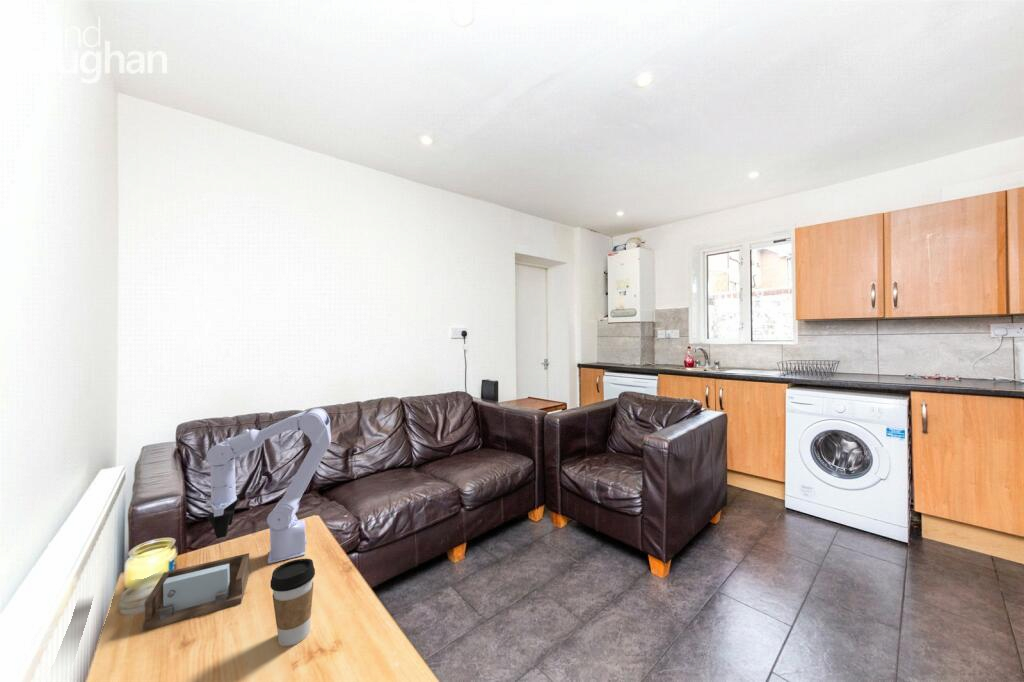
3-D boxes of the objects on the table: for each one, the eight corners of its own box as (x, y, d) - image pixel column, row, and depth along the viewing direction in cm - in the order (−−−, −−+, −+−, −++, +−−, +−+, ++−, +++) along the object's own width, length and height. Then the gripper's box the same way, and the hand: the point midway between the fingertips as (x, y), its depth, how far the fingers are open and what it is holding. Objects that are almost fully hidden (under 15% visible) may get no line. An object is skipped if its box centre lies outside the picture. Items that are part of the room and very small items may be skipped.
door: (229, 591, 95) (229, 563, 95) (227, 598, 92) (226, 570, 92) (167, 607, 89) (166, 578, 89) (162, 616, 87) (161, 585, 87)
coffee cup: (302, 651, 78) (301, 578, 78) (262, 651, 78) (260, 579, 78) (323, 620, 86) (322, 555, 86) (287, 621, 87) (285, 555, 87)
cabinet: (249, 572, 105) (249, 553, 105) (241, 603, 93) (240, 581, 93) (164, 594, 97) (164, 572, 97) (142, 631, 84) (142, 606, 84)
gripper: (212, 478, 114) (212, 523, 114) (199, 496, 101) (200, 546, 101) (240, 474, 118) (241, 518, 118) (231, 490, 105) (232, 539, 105)
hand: (224, 531), depth 110 cm, fingers open, 7 cm apart
